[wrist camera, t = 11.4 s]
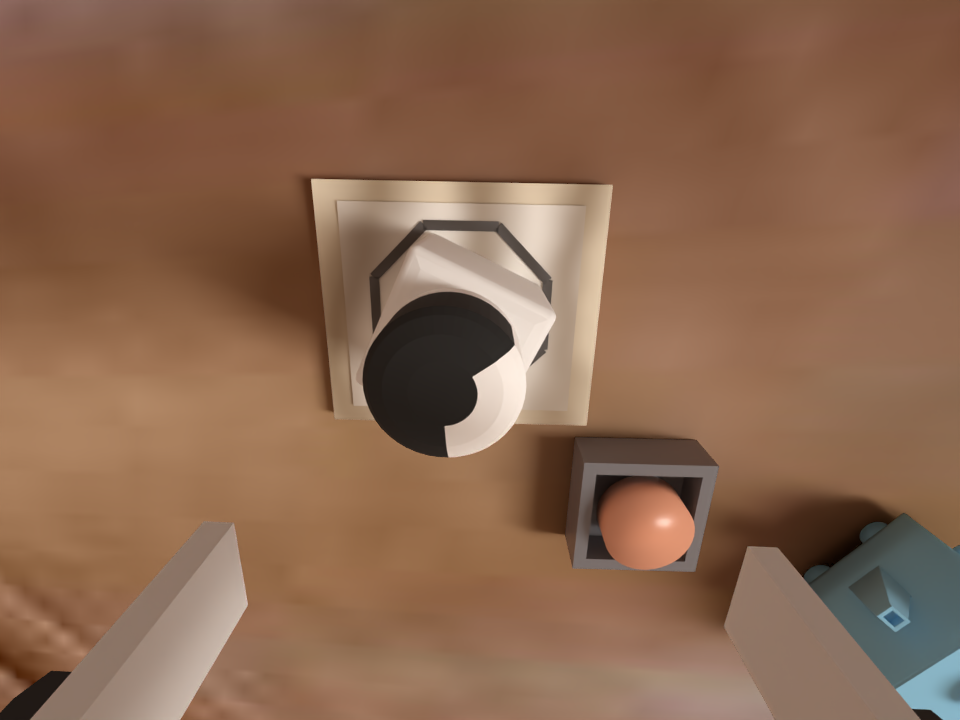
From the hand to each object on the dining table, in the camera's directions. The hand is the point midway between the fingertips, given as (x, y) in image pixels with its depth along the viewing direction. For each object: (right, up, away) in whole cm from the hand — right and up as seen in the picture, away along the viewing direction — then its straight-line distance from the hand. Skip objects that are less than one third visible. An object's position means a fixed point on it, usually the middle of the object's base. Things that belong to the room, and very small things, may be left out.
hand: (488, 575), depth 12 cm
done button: (+11, -5, +21) cm, 24 cm away
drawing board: (-1, +9, +19) cm, 21 cm away
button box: (+11, -5, +23) cm, 26 cm away
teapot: (+32, -12, +26) cm, 43 cm away
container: (-1, +9, +18) cm, 20 cm away
